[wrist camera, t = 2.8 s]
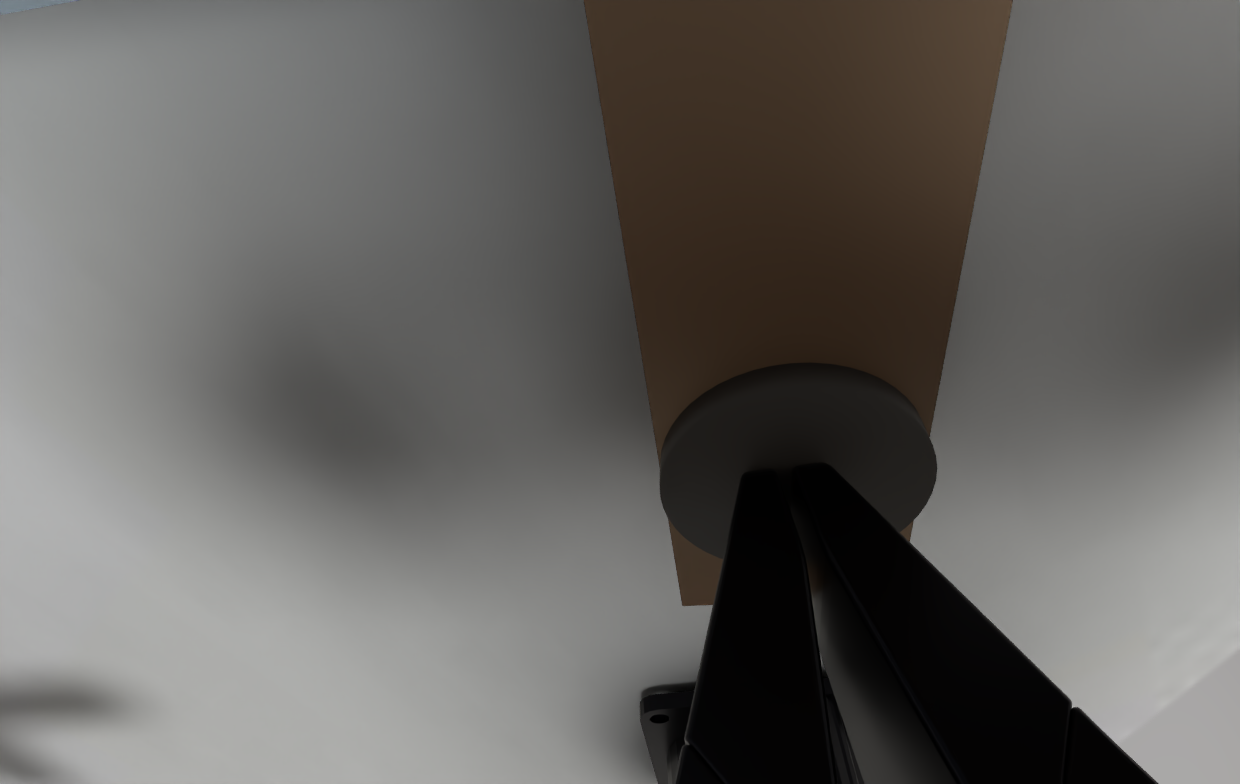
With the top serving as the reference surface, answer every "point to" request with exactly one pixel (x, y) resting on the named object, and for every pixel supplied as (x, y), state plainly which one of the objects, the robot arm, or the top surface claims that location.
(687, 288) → the lever
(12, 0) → the open container
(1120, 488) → the top surface
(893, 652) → the robot arm
